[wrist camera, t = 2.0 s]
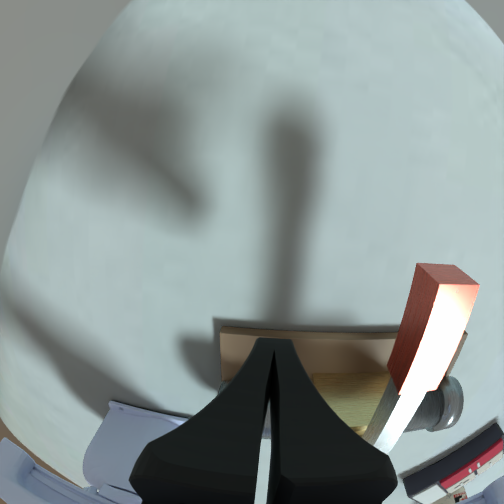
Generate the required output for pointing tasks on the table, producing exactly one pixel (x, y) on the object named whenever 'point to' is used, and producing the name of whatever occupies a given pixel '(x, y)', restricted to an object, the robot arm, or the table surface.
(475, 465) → the calculator
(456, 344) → the lever
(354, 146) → the table surface
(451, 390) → the valve
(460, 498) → the teacup with lid
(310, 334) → the board
